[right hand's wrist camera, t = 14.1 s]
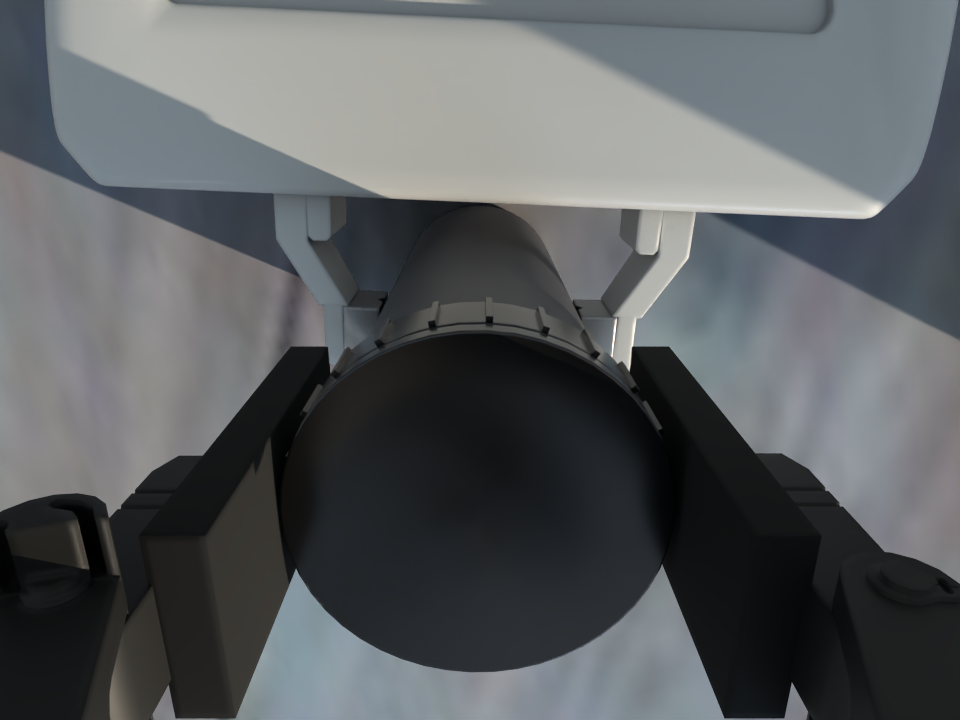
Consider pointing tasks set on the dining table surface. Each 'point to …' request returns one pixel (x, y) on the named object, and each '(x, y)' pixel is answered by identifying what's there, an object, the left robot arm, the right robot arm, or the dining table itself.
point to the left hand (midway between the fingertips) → (479, 364)
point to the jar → (479, 267)
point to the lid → (478, 489)
